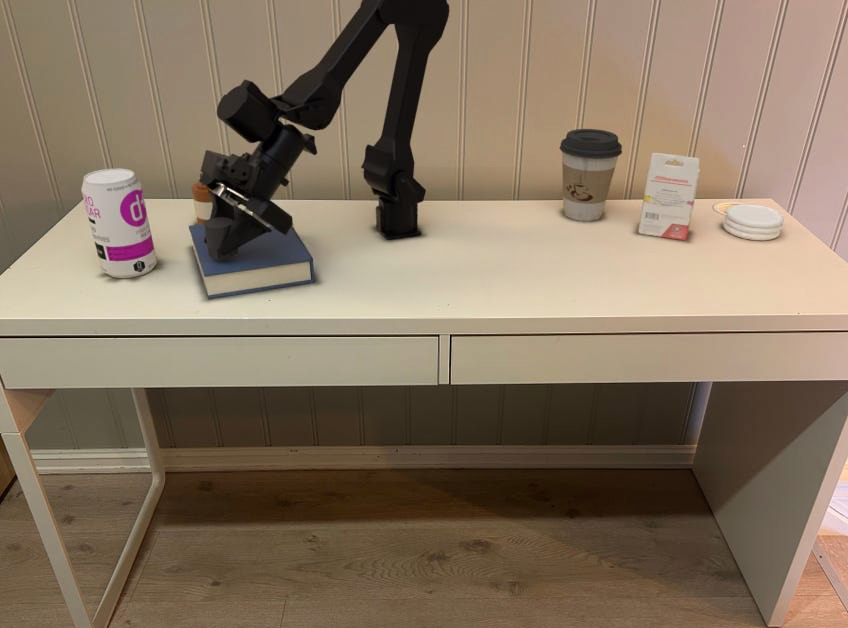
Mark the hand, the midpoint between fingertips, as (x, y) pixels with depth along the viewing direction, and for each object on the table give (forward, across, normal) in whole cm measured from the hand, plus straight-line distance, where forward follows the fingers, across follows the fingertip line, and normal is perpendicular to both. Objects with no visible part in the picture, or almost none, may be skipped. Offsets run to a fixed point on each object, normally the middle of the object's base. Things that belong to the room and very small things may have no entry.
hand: (213, 248), depth 108 cm
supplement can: (+10, -14, -1) cm, 18 cm away
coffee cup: (-43, +15, +52) cm, 69 cm away
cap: (0, 0, +2) cm, 2 cm away
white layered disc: (-56, +40, +65) cm, 95 cm away
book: (-1, -4, +10) cm, 10 cm away
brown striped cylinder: (-3, -24, +12) cm, 27 cm away
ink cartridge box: (-46, +30, +55) cm, 78 cm away
